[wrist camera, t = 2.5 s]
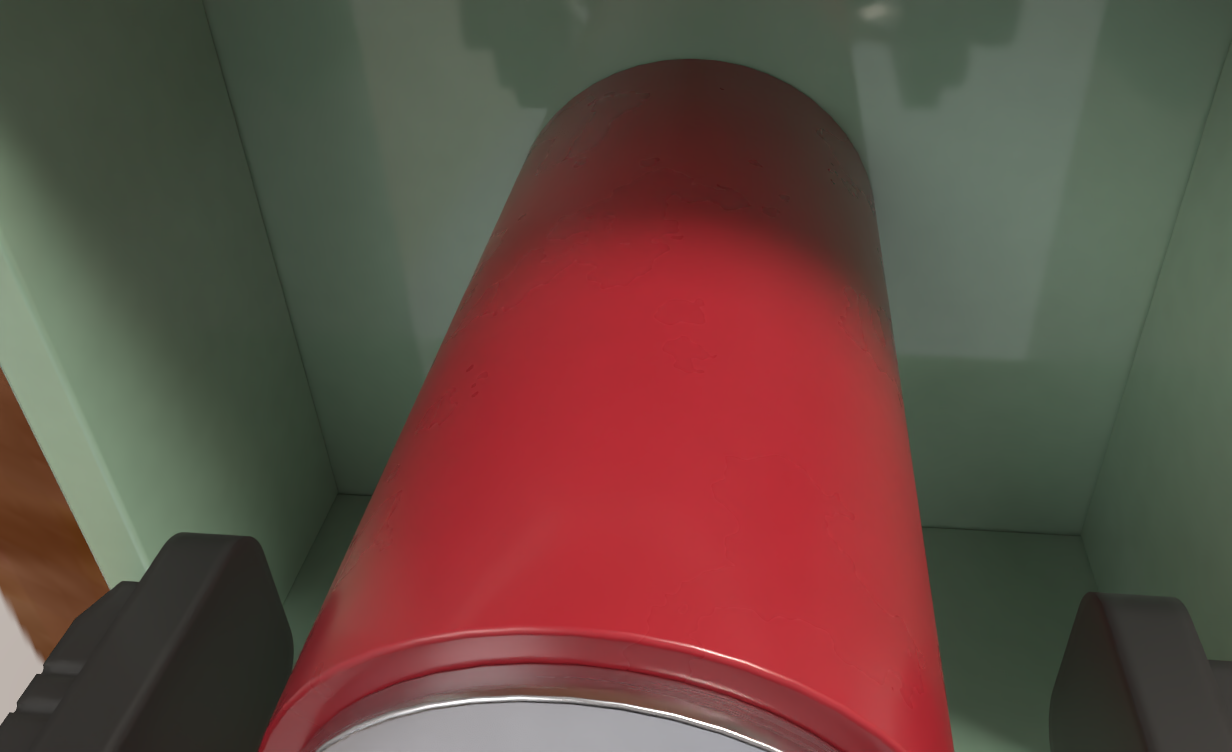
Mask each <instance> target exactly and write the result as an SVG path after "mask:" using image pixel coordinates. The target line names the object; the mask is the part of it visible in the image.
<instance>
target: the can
mask: <svg viewBox="0 0 1232 752" xmlns="http://www.w3.org/2000/svg"><path fill="white" fill-rule="evenodd" d="M257 752H954V746H953V739H952V732H951V725H950V718H949V711H948V705H947V698H946V691H945V684H944V677H943V670H942V663H941V657H940V650H939V643H938V636H937V629H936V622H935V615H934V609H933V602H932V595H931V588H930V581H929V574H928V567H927V561H926V554H925V547H924V540H923V533H922V526H921V519H920V513H919V506H918V499H917V492H916V485H915V478H914V471H913V465H912V458H911V451H910V444H909V437H908V430H907V423H906V417H905V410H904V403H903V396H902V389H901V382H900V375H899V369H898V362H897V355H896V348H895V341H894V334H893V327H892V321H891V314H890V307H889V300H888V293H887V286H886V279H885V273H884V266H883V259H882V252H881V245H880V238H879V231H878V225H877V218H876V211H875V204H874V197H873V193H872V189H871V186H870V182H869V178H868V175H867V172H866V170H865V168H864V166H863V163H862V161H861V159H860V157H859V154H858V153H857V151H856V149H855V148H854V146H853V145H852V143H851V141H850V140H849V138H848V137H847V135H846V134H845V132H844V131H843V130H842V129H841V128H840V127H839V125H838V124H837V123H836V122H835V121H834V120H833V118H832V117H831V116H830V115H829V114H828V113H827V112H826V111H824V110H823V109H822V108H821V107H820V106H819V105H818V104H816V103H815V102H814V101H813V100H812V99H811V98H809V97H808V96H806V95H805V94H803V93H802V92H800V91H799V90H797V89H796V88H794V87H793V86H791V85H789V84H787V83H785V82H783V81H781V80H779V79H777V78H775V77H773V76H771V75H769V74H767V73H764V72H761V71H758V70H755V69H752V68H749V67H746V66H743V65H738V64H733V63H727V62H722V61H717V60H703V59H678V60H664V61H658V62H653V63H648V64H643V65H638V66H636V67H633V68H630V69H627V70H624V71H621V72H618V73H615V74H613V75H611V76H609V77H607V78H605V79H603V80H601V81H599V82H597V83H595V84H593V85H591V86H590V87H588V88H587V89H585V90H584V91H582V92H581V93H579V94H578V95H577V96H575V97H574V98H572V99H571V100H570V101H569V102H568V103H567V104H566V105H565V106H564V107H562V108H561V109H560V110H559V111H558V112H557V113H556V114H555V115H554V116H553V117H552V119H551V120H550V121H549V122H548V124H547V125H546V126H545V127H544V128H543V130H542V131H541V132H540V134H539V136H538V137H537V139H536V141H535V142H534V144H533V146H532V147H531V149H530V151H529V153H528V155H527V157H526V159H525V162H524V164H523V166H522V168H521V170H520V173H519V175H518V177H517V179H516V181H515V184H514V186H513V188H512V190H511V192H510V195H509V197H508V199H507V201H506V203H505V206H504V208H503V210H502V212H501V214H500V217H499V219H498V221H497V223H496V225H495V227H494V230H493V232H492V234H491V236H490V238H489V241H488V243H487V245H486V247H485V249H484V252H483V254H482V256H481V258H480V260H479V263H478V265H477V267H476V269H475V271H474V274H473V276H472V278H471V280H470V282H469V285H468V287H467V289H466V291H465V293H464V295H463V298H462V300H461V302H460V304H459V306H458V309H457V311H456V313H455V315H454V317H453V320H452V322H451V324H450V326H449V328H448V331H447V333H446V335H445V337H444V339H443V342H442V344H441V346H440V348H439V350H438V353H437V355H436V357H435V359H434V361H433V364H432V366H431V368H430V370H429V372H428V374H427V377H426V379H425V381H424V383H423V385H422V388H421V390H420V392H419V394H418V396H417V399H416V401H415V403H414V405H413V407H412V410H411V412H410V414H409V416H408V418H407V421H406V423H405V425H404V427H403V429H402V432H401V434H400V436H399V438H398V440H397V442H396V445H395V447H394V449H393V451H392V453H391V456H390V458H389V460H388V462H387V464H386V467H385V469H384V471H383V473H382V475H381V478H380V480H379V482H378V484H377V486H376V489H375V491H374V493H373V495H372V497H371V500H370V502H369V504H368V506H367V508H366V510H365V513H364V515H363V517H362V519H361V521H360V524H359V526H358V528H357V530H356V532H355V535H354V537H353V539H352V541H351V543H350V546H349V548H348V550H347V552H346V554H345V557H344V559H343V561H342V563H341V565H340V568H339V570H338V572H337V574H336V576H335V578H334V581H333V583H332V585H331V587H330V589H329V592H328V594H327V596H326V598H325V600H324V603H323V605H322V607H321V609H320V611H319V614H318V616H317V618H316V620H315V622H314V625H313V627H312V629H311V631H310V633H309V636H308V638H307V640H306V642H305V644H304V647H303V649H302V651H301V653H300V655H299V657H298V660H297V662H296V664H295V666H294V668H293V671H292V673H291V675H290V677H289V679H288V682H287V684H286V686H285V688H284V690H283V693H282V695H281V697H280V699H279V701H278V704H277V706H276V708H275V710H274V712H273V715H272V717H271V719H270V721H269V723H268V725H267V728H266V730H265V733H264V735H263V738H262V740H261V743H260V746H259V748H258V751H257Z"/></svg>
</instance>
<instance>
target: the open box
mask: <svg viewBox="0 0 1232 752" xmlns="http://www.w3.org/2000/svg"><path fill="white" fill-rule="evenodd" d="M678 59H703V60H717V61H722V62H727V63H733V64H738V65H743V66H746V67H749V68H752V69H755V70H758V71H761V72H764V73H767V74H769V75H771V76H773V77H775V78H777V79H779V80H781V81H783V82H785V83H787V84H789V85H791V86H793V87H794V88H796V89H797V90H799V91H800V92H802V93H803V94H805V95H806V96H808V97H809V98H811V99H812V100H813V101H814V102H815V103H816V104H818V105H819V106H820V107H821V108H822V109H823V110H824V111H826V112H827V113H828V114H829V115H830V116H831V117H832V118H833V120H834V121H835V122H836V123H837V124H838V125H839V127H840V128H841V129H842V130H843V131H844V132H845V134H846V135H847V137H848V138H849V140H850V141H851V143H852V145H853V146H854V148H855V149H856V151H857V153H858V154H859V157H860V159H861V161H862V163H863V166H864V168H865V170H866V172H867V175H868V178H869V182H870V186H871V189H872V193H873V197H874V204H875V211H876V218H877V225H878V231H879V238H880V245H881V252H882V259H883V266H884V273H885V279H886V286H887V293H888V300H889V307H890V314H891V321H892V327H893V334H894V341H895V348H896V355H897V362H898V369H899V375H900V382H901V389H902V396H903V403H904V410H905V417H906V423H907V430H908V437H909V444H910V451H911V458H912V465H913V471H914V478H915V485H916V492H917V499H918V506H919V513H920V519H921V526H922V533H923V540H924V547H925V554H926V561H927V567H928V574H929V581H930V588H931V595H932V602H933V609H934V615H935V622H936V629H937V636H938V643H939V650H940V657H941V663H942V670H943V677H944V684H945V691H946V698H947V705H948V711H949V718H950V725H951V732H952V739H953V746H954V752H1051V750H1050V741H1049V708H1050V700H1051V695H1052V691H1053V688H1054V684H1055V681H1056V678H1057V675H1058V672H1059V668H1060V665H1061V662H1062V659H1063V656H1064V652H1065V649H1066V646H1067V643H1068V640H1069V636H1070V633H1071V630H1072V627H1073V624H1074V621H1075V617H1076V614H1077V611H1078V608H1079V605H1080V602H1081V600H1082V598H1083V596H1084V595H1085V594H1086V593H1088V592H1103V593H1119V594H1135V595H1151V596H1167V597H1176V598H1178V599H1179V600H1180V601H1181V602H1182V603H1183V604H1184V605H1185V607H1186V608H1187V610H1188V612H1189V614H1190V617H1191V619H1192V621H1193V624H1194V627H1195V629H1196V632H1197V634H1198V637H1199V639H1200V642H1201V644H1202V647H1203V649H1204V652H1205V654H1206V657H1207V659H1208V660H1221V661H1232V0H0V367H1V369H2V371H3V373H4V375H5V377H6V379H7V381H8V383H9V385H10V387H11V389H12V391H13V393H14V395H15V397H16V399H17V401H18V403H19V405H20V407H21V409H22V411H23V413H24V415H25V418H26V420H27V422H28V424H29V426H30V428H31V430H32V432H33V434H34V436H35V438H36V440H37V442H38V444H39V446H40V448H41V450H42V452H43V454H44V456H45V458H46V460H47V462H48V464H49V466H50V469H51V471H52V473H53V475H54V477H55V479H56V481H57V483H58V485H59V487H60V489H61V491H62V493H63V495H64V497H65V499H66V501H67V503H68V505H69V507H70V509H71V511H72V513H73V515H74V517H75V519H76V522H77V524H78V526H79V528H80V530H81V532H82V534H83V536H84V538H85V540H86V542H87V544H88V546H89V548H90V550H91V552H92V554H93V556H94V558H95V560H96V562H97V564H98V566H99V568H100V570H101V572H102V575H103V577H104V579H105V581H106V583H107V585H108V587H109V589H110V590H111V589H112V588H114V587H115V586H116V585H117V584H118V583H120V582H121V581H134V582H139V581H140V580H141V578H142V577H143V575H144V574H145V572H146V571H147V569H148V568H149V566H150V565H151V563H152V562H153V560H154V559H155V557H156V556H157V554H158V553H159V551H160V550H161V548H162V547H163V545H164V544H165V543H166V542H167V541H168V540H169V539H170V538H171V537H172V536H173V535H175V534H177V533H180V532H190V533H206V534H222V535H238V536H251V537H254V538H255V539H256V540H258V542H259V543H260V544H261V546H262V549H263V551H264V554H265V557H266V560H267V563H268V565H269V568H270V571H271V574H272V577H273V580H274V583H275V586H276V588H277V591H278V594H279V597H280V600H281V603H282V606H283V609H284V612H285V614H286V617H287V620H288V623H289V626H290V629H291V632H292V636H293V645H294V658H293V667H292V671H293V668H294V666H295V664H296V662H297V660H298V657H299V655H300V653H301V651H302V649H303V647H304V644H305V642H306V640H307V638H308V636H309V633H310V631H311V629H312V627H313V625H314V622H315V620H316V618H317V616H318V614H319V611H320V609H321V607H322V605H323V603H324V600H325V598H326V596H327V594H328V592H329V589H330V587H331V585H332V583H333V581H334V578H335V576H336V574H337V572H338V570H339V568H340V565H341V563H342V561H343V559H344V557H345V554H346V552H347V550H348V548H349V546H350V543H351V541H352V539H353V537H354V535H355V532H356V530H357V528H358V526H359V524H360V521H361V519H362V517H363V515H364V513H365V510H366V508H367V506H368V504H369V502H370V500H371V497H372V495H373V493H374V491H375V489H376V486H377V484H378V482H379V480H380V478H381V475H382V473H383V471H384V469H385V467H386V464H387V462H388V460H389V458H390V456H391V453H392V451H393V449H394V447H395V445H396V442H397V440H398V438H399V436H400V434H401V432H402V429H403V427H404V425H405V423H406V421H407V418H408V416H409V414H410V412H411V410H412V407H413V405H414V403H415V401H416V399H417V396H418V394H419V392H420V390H421V388H422V385H423V383H424V381H425V379H426V377H427V374H428V372H429V370H430V368H431V366H432V364H433V361H434V359H435V357H436V355H437V353H438V350H439V348H440V346H441V344H442V342H443V339H444V337H445V335H446V333H447V331H448V328H449V326H450V324H451V322H452V320H453V317H454V315H455V313H456V311H457V309H458V306H459V304H460V302H461V300H462V298H463V295H464V293H465V291H466V289H467V287H468V285H469V282H470V280H471V278H472V276H473V274H474V271H475V269H476V267H477V265H478V263H479V260H480V258H481V256H482V254H483V252H484V249H485V247H486V245H487V243H488V241H489V238H490V236H491V234H492V232H493V230H494V227H495V225H496V223H497V221H498V219H499V217H500V214H501V212H502V210H503V208H504V206H505V203H506V201H507V199H508V197H509V195H510V192H511V190H512V188H513V186H514V184H515V181H516V179H517V177H518V175H519V173H520V170H521V168H522V166H523V164H524V162H525V159H526V157H527V155H528V153H529V151H530V149H531V147H532V146H533V144H534V142H535V141H536V139H537V137H538V136H539V134H540V132H541V131H542V130H543V128H544V127H545V126H546V125H547V124H548V122H549V121H550V120H551V119H552V117H553V116H554V115H555V114H556V113H557V112H558V111H559V110H560V109H561V108H562V107H564V106H565V105H566V104H567V103H568V102H569V101H570V100H571V99H572V98H574V97H575V96H577V95H578V94H579V93H581V92H582V91H584V90H585V89H587V88H588V87H590V86H591V85H593V84H595V83H597V82H599V81H601V80H603V79H605V78H607V77H609V76H611V75H613V74H615V73H618V72H621V71H624V70H627V69H630V68H633V67H636V66H638V65H643V64H648V63H653V62H658V61H664V60H678Z"/></svg>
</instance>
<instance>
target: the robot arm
mask: <svg viewBox="0 0 1232 752" xmlns="http://www.w3.org/2000/svg"><path fill="white" fill-rule="evenodd" d="M293 658H294V645H293V636H292V632H291V629H290V626H289V623H288V620H287V617H286V614H285V612H284V609H283V606H282V603H281V600H280V597H279V594H278V591H277V588H276V586H275V583H274V580H273V577H272V574H271V571H270V568H269V565H268V563H267V560H266V557H265V554H264V551H263V549H262V546H261V544H260V543H259V542H258V540H256V539H255V538H254V537H251V536H238V535H222V534H206V533H190V532H180V533H177V534H175V535H173V536H172V537H171V538H170V539H169V540H168V541H167V542H166V543H165V544H164V545H163V547H162V548H161V550H160V551H159V553H158V554H157V556H156V557H155V559H154V560H153V562H152V563H151V565H150V566H149V568H148V569H147V571H146V572H145V574H144V575H143V577H142V578H141V580H140V581H139V582H134V581H121V582H120V583H118V584H117V585H116V586H115V587H114V588H112V589H111V590H110V591H109V592H107V593H106V594H105V595H104V596H103V597H101V598H100V599H99V600H98V601H96V602H95V603H94V604H93V605H92V606H90V607H89V608H88V609H87V610H85V611H84V612H83V613H82V614H81V615H79V616H78V617H77V618H76V619H75V620H74V621H73V623H72V624H71V626H70V627H69V628H68V630H67V631H66V633H65V634H64V636H63V637H62V638H61V640H60V641H59V643H58V644H57V646H56V647H55V648H54V650H53V651H52V653H51V654H50V656H49V657H48V658H47V660H46V661H45V663H44V664H43V666H44V669H43V672H42V673H41V674H36V676H35V677H34V678H33V680H32V681H31V683H30V684H29V686H28V687H27V688H26V690H25V691H24V693H23V694H22V696H21V697H20V698H19V700H18V701H17V709H16V711H15V712H14V713H9V714H8V716H7V717H6V718H5V720H4V721H3V723H2V724H1V725H0V752H257V751H258V748H259V746H260V743H261V740H262V738H263V735H264V733H265V730H266V728H267V725H268V723H269V721H270V719H271V717H272V715H273V712H274V710H275V708H276V706H277V704H278V701H279V699H280V697H281V695H282V693H283V690H284V688H285V686H286V684H287V682H288V679H289V677H290V675H291V673H292V667H293ZM1049 741H1050V750H1051V752H1232V661H1221V660H1208V659H1207V657H1206V654H1205V652H1204V649H1203V647H1202V644H1201V642H1200V639H1199V637H1198V634H1197V632H1196V629H1195V627H1194V624H1193V621H1192V619H1191V617H1190V614H1189V612H1188V610H1187V608H1186V607H1185V605H1184V604H1183V603H1182V602H1181V601H1180V600H1179V599H1178V598H1176V597H1167V596H1151V595H1135V594H1119V593H1103V592H1088V593H1086V594H1085V595H1084V596H1083V598H1082V600H1081V602H1080V605H1079V608H1078V611H1077V614H1076V617H1075V621H1074V624H1073V627H1072V630H1071V633H1070V636H1069V640H1068V643H1067V646H1066V649H1065V652H1064V656H1063V659H1062V662H1061V665H1060V668H1059V672H1058V675H1057V678H1056V681H1055V684H1054V688H1053V691H1052V695H1051V700H1050V708H1049Z"/></svg>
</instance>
